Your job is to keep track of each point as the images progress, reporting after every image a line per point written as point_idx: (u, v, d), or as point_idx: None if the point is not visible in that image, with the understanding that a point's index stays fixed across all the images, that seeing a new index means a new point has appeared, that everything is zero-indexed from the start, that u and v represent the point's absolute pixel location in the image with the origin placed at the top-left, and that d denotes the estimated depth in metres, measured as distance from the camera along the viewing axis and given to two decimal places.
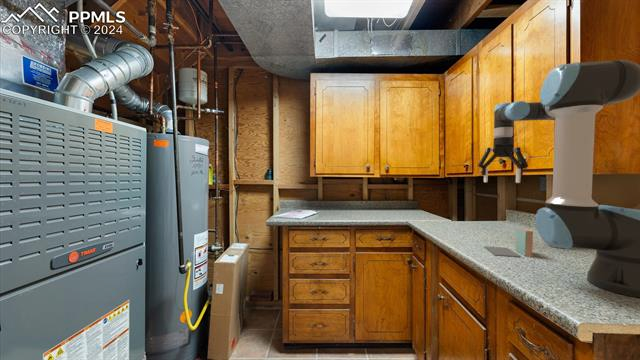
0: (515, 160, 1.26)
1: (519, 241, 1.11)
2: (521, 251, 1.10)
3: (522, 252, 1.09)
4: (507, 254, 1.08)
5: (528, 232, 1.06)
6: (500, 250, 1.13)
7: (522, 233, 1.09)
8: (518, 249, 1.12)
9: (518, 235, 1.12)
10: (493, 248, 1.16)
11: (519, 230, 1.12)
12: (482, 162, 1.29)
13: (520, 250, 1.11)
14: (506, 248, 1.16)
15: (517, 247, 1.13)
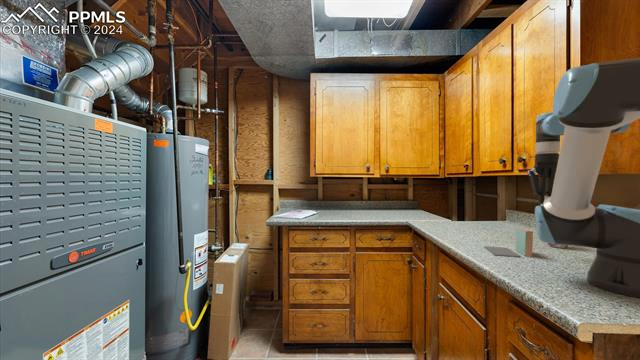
0: (551, 184, 1.07)
1: (519, 241, 1.11)
2: (521, 251, 1.10)
3: (522, 252, 1.09)
4: (507, 254, 1.08)
5: (528, 232, 1.06)
6: (500, 250, 1.13)
7: (522, 233, 1.09)
8: (518, 249, 1.12)
9: (518, 235, 1.12)
10: (493, 248, 1.16)
11: (519, 230, 1.12)
12: (537, 188, 1.08)
13: (520, 250, 1.11)
14: (506, 248, 1.16)
15: (517, 247, 1.13)
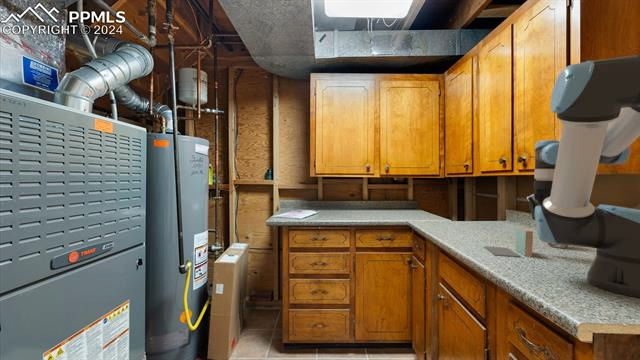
0: None
1: (519, 241, 1.11)
2: (521, 251, 1.10)
3: (522, 252, 1.09)
4: (507, 254, 1.08)
5: (528, 232, 1.06)
6: (500, 250, 1.13)
7: (522, 233, 1.09)
8: (518, 249, 1.12)
9: (518, 235, 1.12)
10: (493, 248, 1.16)
11: (519, 230, 1.12)
12: None
13: (520, 250, 1.11)
14: (506, 248, 1.16)
15: (517, 247, 1.13)
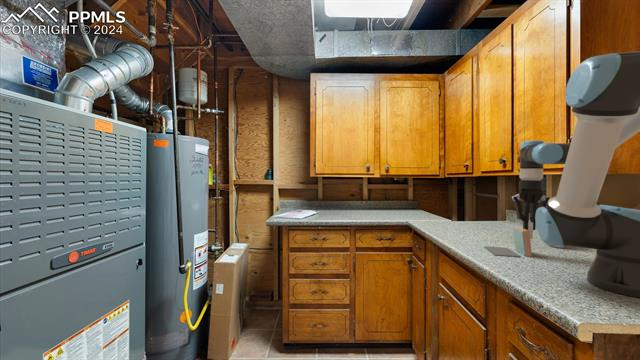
0: (534, 210, 1.08)
1: (517, 241, 1.12)
2: (521, 251, 1.10)
3: (522, 252, 1.09)
4: (507, 254, 1.08)
5: (524, 232, 1.07)
6: (500, 250, 1.13)
7: (519, 233, 1.09)
8: (517, 249, 1.12)
9: (516, 235, 1.13)
10: (493, 248, 1.16)
11: (516, 230, 1.12)
12: (520, 214, 1.09)
13: (520, 250, 1.11)
14: (506, 248, 1.16)
15: (516, 247, 1.13)
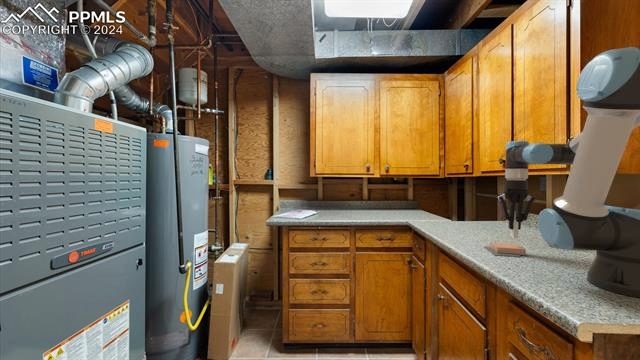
0: (520, 210, 1.09)
1: None
2: None
3: None
4: (507, 254, 1.08)
5: (498, 251, 1.09)
6: None
7: None
8: None
9: None
10: None
11: None
12: (506, 214, 1.10)
13: None
14: None
15: None
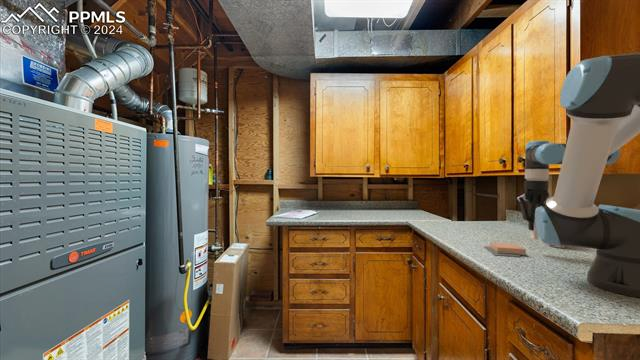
0: None
1: None
2: None
3: None
4: (507, 254, 1.08)
5: (498, 251, 1.09)
6: None
7: None
8: None
9: None
10: None
11: None
12: (526, 215, 1.09)
13: None
14: None
15: None
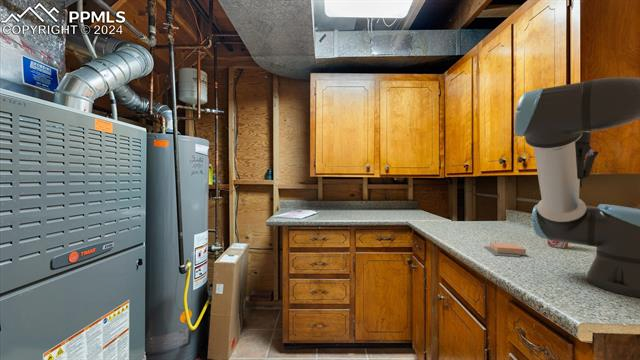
0: (581, 165, 0.99)
1: None
2: None
3: None
4: (507, 254, 1.08)
5: (498, 251, 1.09)
6: None
7: None
8: None
9: None
10: None
11: None
12: None
13: None
14: None
15: None
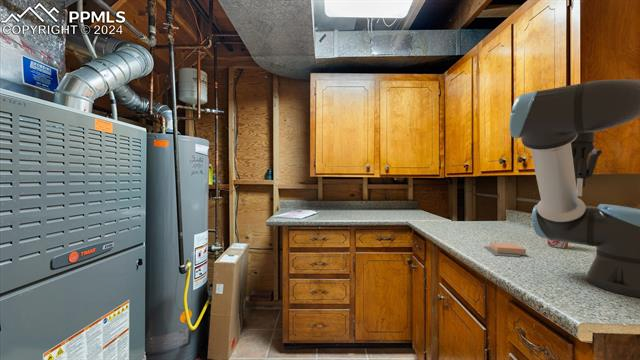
0: (584, 165, 0.99)
1: None
2: None
3: None
4: (507, 254, 1.08)
5: (498, 251, 1.09)
6: None
7: None
8: None
9: None
10: None
11: None
12: None
13: None
14: None
15: None
